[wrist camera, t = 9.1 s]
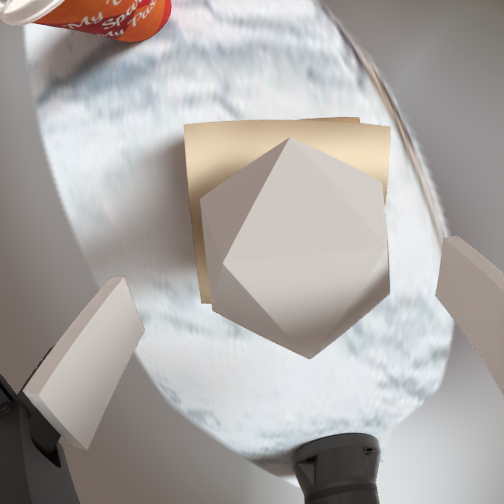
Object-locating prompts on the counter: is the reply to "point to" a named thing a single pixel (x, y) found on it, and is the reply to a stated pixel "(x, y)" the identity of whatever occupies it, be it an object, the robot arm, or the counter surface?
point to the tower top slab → (261, 141)
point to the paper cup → (92, 16)
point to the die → (296, 247)
